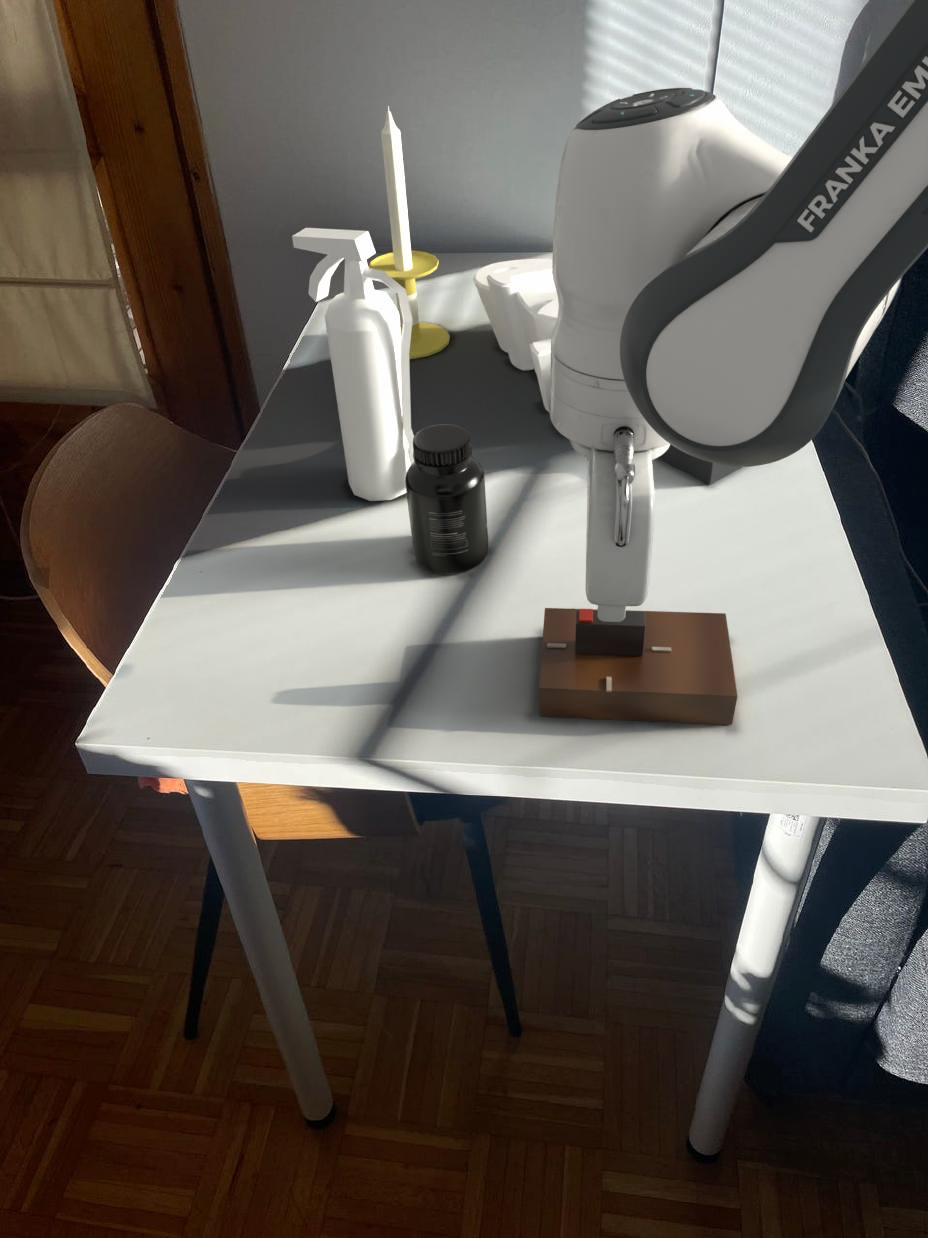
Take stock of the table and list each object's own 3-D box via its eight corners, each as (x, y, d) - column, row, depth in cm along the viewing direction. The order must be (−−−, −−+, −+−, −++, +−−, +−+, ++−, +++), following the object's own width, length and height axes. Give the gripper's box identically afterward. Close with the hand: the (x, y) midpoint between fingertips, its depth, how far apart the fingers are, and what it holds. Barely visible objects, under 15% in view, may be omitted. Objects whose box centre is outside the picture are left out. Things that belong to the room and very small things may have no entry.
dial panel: (721, 640, 76) (725, 610, 74) (732, 726, 69) (738, 695, 67) (544, 634, 78) (544, 605, 76) (539, 717, 71) (538, 687, 69)
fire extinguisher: (420, 520, 91) (393, 257, 75) (320, 488, 96) (275, 235, 80) (457, 485, 95) (440, 229, 79) (360, 456, 100) (325, 210, 84)
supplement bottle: (502, 544, 87) (498, 428, 80) (463, 586, 83) (454, 467, 75) (440, 524, 90) (430, 410, 83) (398, 563, 86) (384, 447, 78)
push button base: (770, 452, 97) (777, 412, 94) (709, 485, 93) (715, 444, 90) (681, 409, 104) (685, 371, 101) (621, 438, 100) (624, 399, 97)
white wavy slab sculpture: (697, 439, 99) (708, 343, 92) (544, 465, 97) (544, 368, 90) (591, 308, 125) (594, 226, 118) (468, 326, 123) (464, 243, 116)
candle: (372, 362, 117) (341, 121, 99) (370, 328, 125) (341, 98, 107) (453, 354, 117) (437, 113, 100) (446, 321, 125) (430, 91, 107)
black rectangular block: (642, 641, 72) (645, 609, 70) (642, 656, 71) (645, 623, 69) (575, 639, 73) (576, 607, 71) (575, 653, 72) (575, 621, 69)
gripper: (687, 486, 50) (663, 676, 59) (667, 321, 65) (650, 492, 74) (565, 484, 51) (560, 672, 60) (574, 320, 66) (568, 490, 75)
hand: (610, 571), depth 67 cm, fingers open, 8 cm apart
